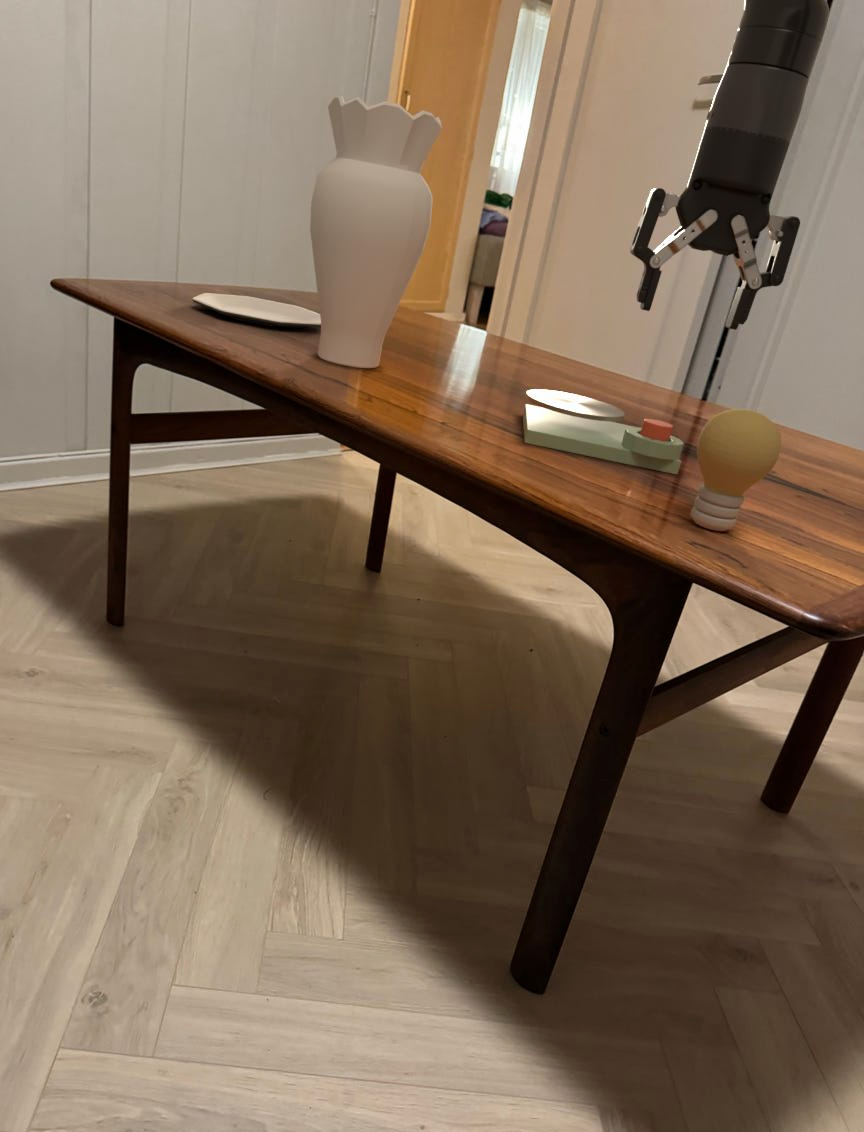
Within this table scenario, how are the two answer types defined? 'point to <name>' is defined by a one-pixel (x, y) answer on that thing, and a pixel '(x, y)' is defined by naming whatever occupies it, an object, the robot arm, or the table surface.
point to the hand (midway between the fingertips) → (687, 319)
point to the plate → (259, 310)
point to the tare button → (656, 429)
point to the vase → (369, 224)
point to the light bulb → (732, 464)
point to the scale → (600, 440)
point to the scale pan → (575, 405)
